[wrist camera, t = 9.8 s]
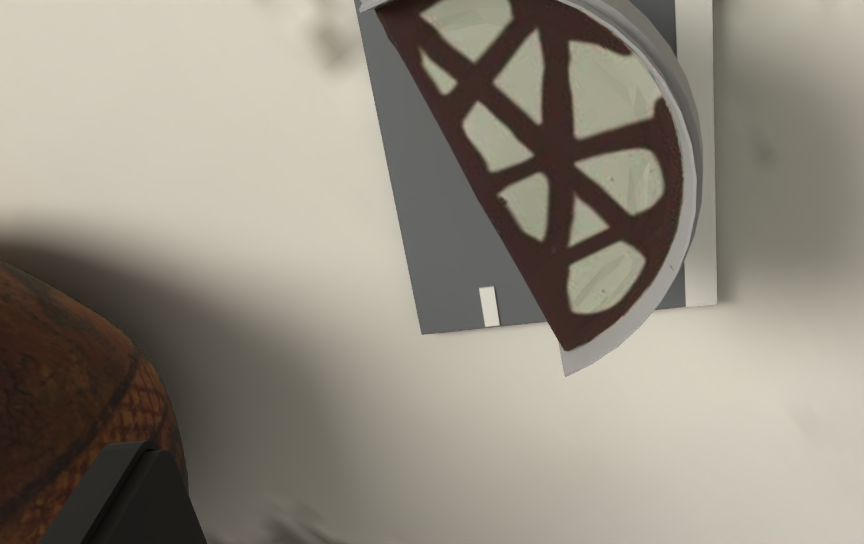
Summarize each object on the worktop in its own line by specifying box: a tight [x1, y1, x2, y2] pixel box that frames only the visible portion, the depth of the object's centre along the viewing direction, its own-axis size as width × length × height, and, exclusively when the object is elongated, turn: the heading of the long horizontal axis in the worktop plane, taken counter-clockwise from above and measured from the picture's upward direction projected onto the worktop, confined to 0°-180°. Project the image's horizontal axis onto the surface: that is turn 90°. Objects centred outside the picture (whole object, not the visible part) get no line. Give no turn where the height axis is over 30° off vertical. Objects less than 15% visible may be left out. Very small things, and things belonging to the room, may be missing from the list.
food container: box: [359, 0, 703, 377], centre depth 24 cm, size 12×6×10 cm, turn 29°
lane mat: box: [354, 0, 717, 335], centre depth 30 cm, size 12×18×1 cm, turn 10°
